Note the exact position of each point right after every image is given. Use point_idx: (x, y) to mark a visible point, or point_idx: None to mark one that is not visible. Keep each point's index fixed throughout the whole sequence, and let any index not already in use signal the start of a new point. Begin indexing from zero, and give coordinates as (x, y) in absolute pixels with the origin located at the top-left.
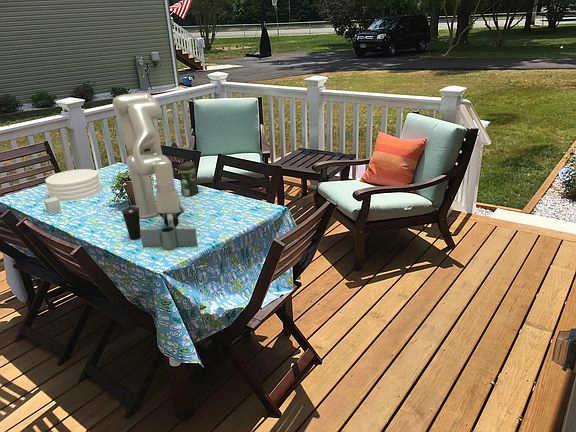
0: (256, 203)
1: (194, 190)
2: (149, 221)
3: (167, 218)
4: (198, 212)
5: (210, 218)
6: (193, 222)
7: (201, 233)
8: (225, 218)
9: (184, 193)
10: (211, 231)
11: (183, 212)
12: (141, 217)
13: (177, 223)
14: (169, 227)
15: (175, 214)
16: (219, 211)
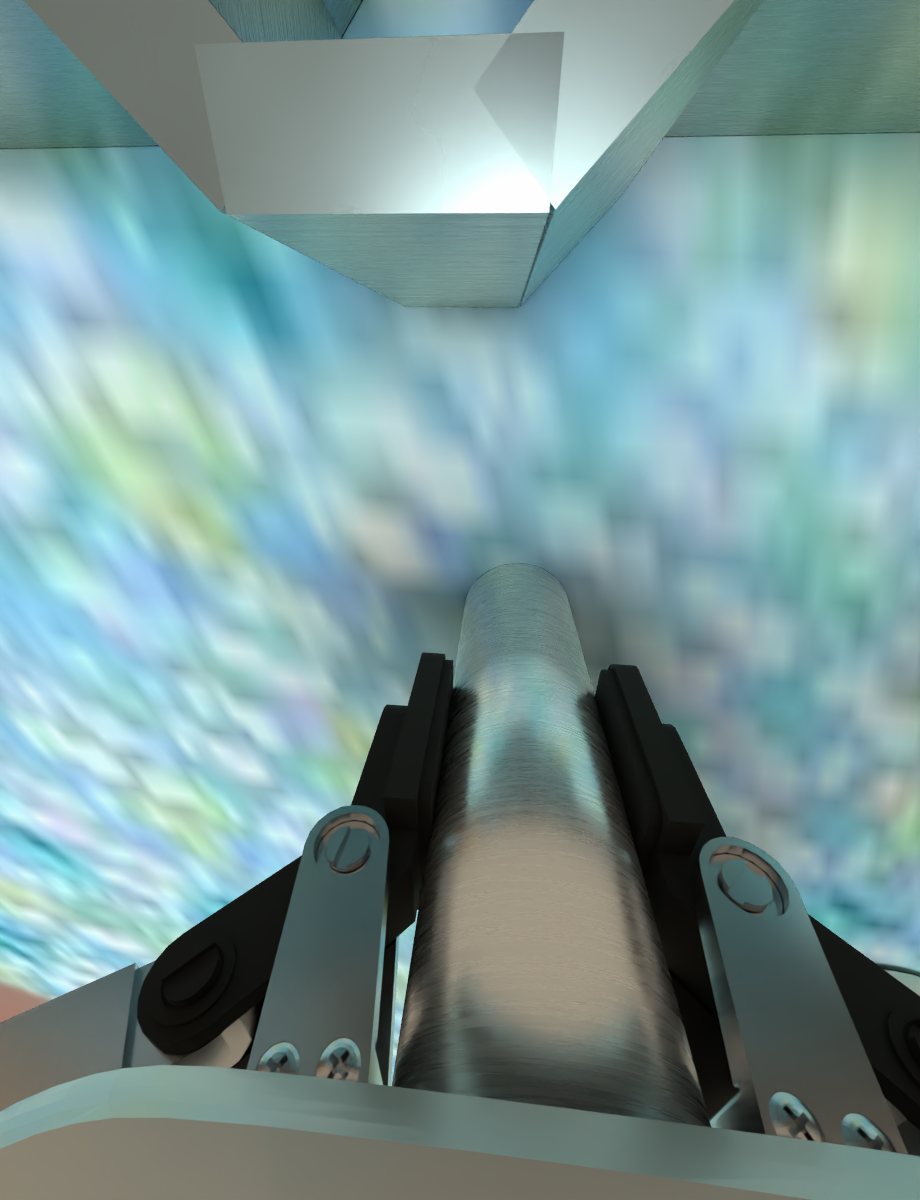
0: (65, 990)
1: None
2: (823, 918)
3: (612, 841)
4: (401, 966)
5: (257, 883)
6: None
7: (169, 620)
8: (130, 867)
9: None
10: (84, 657)
11: (9, 1021)
12: (906, 980)
13: (386, 714)
14: (365, 46)
15: (303, 965)
16: None
